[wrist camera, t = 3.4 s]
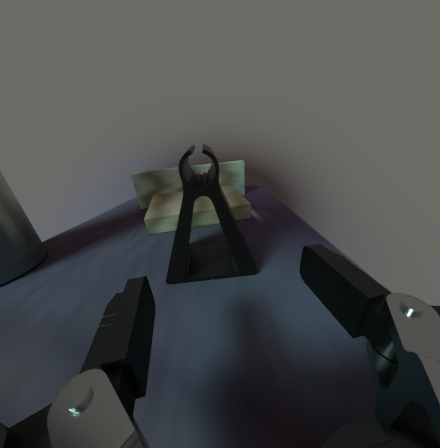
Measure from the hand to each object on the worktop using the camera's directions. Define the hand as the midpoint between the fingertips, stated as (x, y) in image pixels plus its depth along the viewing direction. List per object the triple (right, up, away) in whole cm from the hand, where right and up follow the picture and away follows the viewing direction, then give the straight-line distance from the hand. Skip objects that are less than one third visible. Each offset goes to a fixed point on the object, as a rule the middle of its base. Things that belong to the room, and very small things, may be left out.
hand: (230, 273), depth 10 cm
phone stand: (-2, -2, +12) cm, 12 cm away
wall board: (-5, +5, +25) cm, 26 cm away
